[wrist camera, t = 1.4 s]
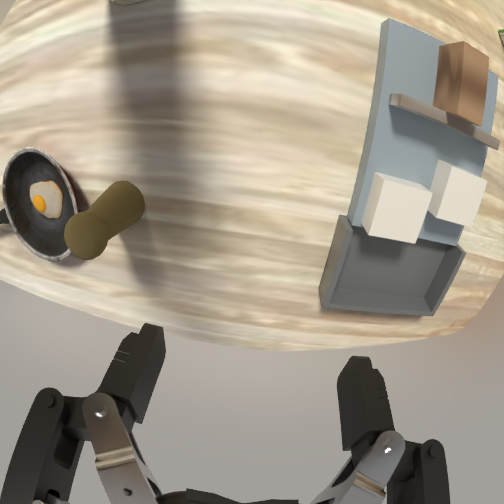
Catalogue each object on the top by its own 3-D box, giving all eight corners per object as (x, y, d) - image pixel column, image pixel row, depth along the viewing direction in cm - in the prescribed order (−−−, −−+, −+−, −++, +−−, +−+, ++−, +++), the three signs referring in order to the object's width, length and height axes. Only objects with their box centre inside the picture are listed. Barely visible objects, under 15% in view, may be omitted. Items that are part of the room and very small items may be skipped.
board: (381, 23, 19) (389, 18, 17) (486, 75, 19) (498, 76, 17) (347, 216, 32) (351, 225, 30) (447, 237, 31) (456, 246, 29)
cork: (153, 207, 33) (110, 252, 24) (125, 231, 36) (83, 277, 26) (124, 171, 31) (71, 205, 22) (98, 198, 33) (48, 236, 24)
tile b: (374, 171, 26) (384, 180, 24) (420, 184, 26) (432, 193, 24) (361, 222, 29) (368, 235, 27) (405, 231, 29) (415, 243, 27)
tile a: (438, 158, 24) (452, 166, 22) (473, 173, 24) (487, 181, 22) (424, 207, 27) (436, 217, 25) (459, 216, 27) (471, 227, 25)
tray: (339, 214, 32) (346, 229, 28) (452, 238, 31) (466, 253, 28) (318, 287, 38) (321, 307, 34) (423, 299, 37) (432, 316, 34)
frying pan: (106, 248, 38) (93, 261, 34) (5, 256, 42) (-5, 265, 39) (72, 125, 28) (54, 131, 25) (-23, 177, 32) (-35, 183, 29)
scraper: (397, 27, 18) (418, 17, 13) (492, 77, 17) (518, 80, 13) (388, 104, 22) (409, 106, 18) (483, 144, 22) (508, 155, 18)
